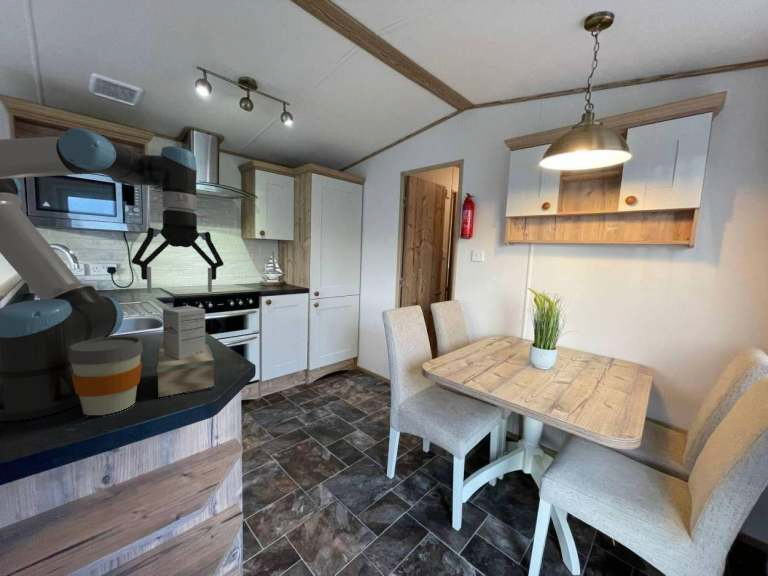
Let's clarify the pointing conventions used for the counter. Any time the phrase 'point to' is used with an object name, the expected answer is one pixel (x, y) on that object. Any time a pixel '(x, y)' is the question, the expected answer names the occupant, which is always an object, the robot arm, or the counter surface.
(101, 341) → the reusable coffee cup
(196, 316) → the supplement box
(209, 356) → the maple box
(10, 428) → the counter surface
